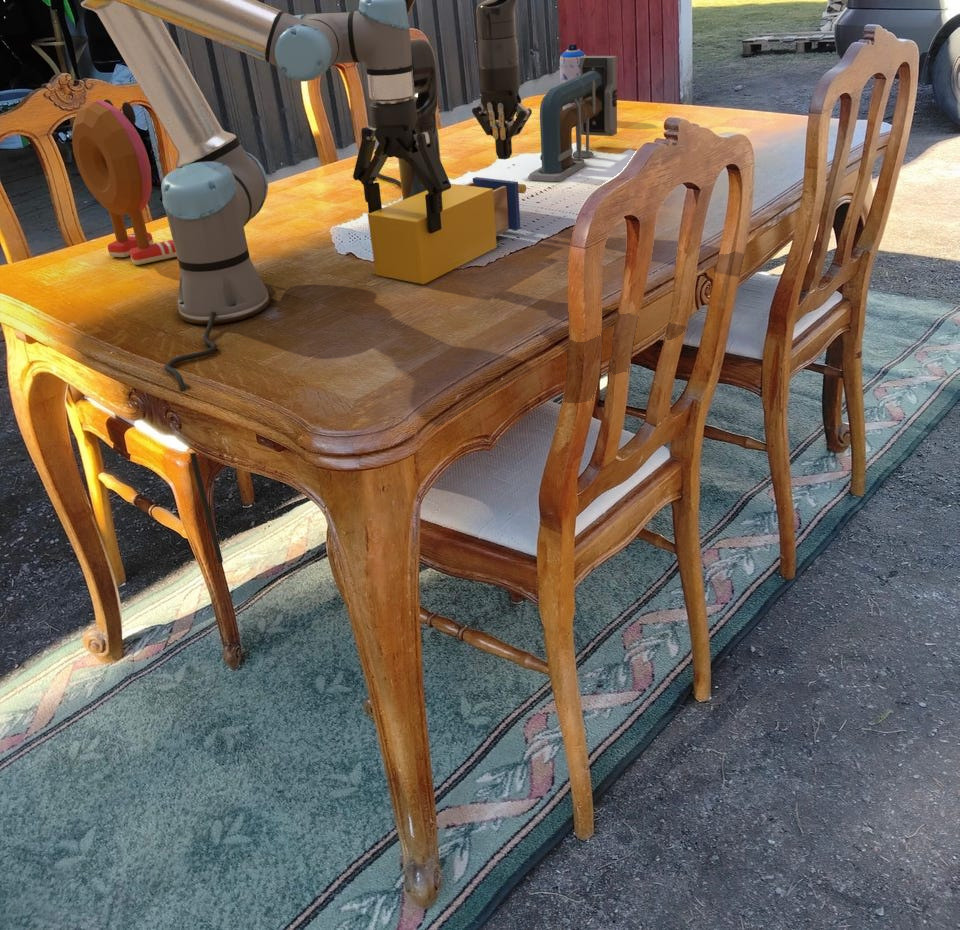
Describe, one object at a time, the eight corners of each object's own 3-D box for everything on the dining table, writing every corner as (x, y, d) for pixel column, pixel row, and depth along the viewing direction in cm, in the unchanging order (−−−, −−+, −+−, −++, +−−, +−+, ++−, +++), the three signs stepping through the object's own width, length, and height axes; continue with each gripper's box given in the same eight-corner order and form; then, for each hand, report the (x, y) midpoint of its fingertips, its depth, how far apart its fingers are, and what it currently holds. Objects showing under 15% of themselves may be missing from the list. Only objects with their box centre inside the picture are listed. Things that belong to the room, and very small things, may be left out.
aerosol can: (559, 122, 275) (557, 47, 265) (562, 117, 282) (559, 42, 272) (587, 121, 274) (585, 45, 263) (589, 115, 280) (587, 41, 270)
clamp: (559, 181, 220) (556, 82, 210) (525, 179, 224) (520, 82, 214) (617, 145, 246) (616, 55, 235) (585, 144, 250) (583, 55, 239)
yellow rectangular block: (450, 239, 190) (445, 182, 184) (496, 247, 184) (493, 188, 178) (375, 275, 175) (367, 214, 170) (423, 284, 169) (416, 221, 164)
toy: (194, 256, 192) (157, 98, 177) (148, 271, 186) (106, 109, 171) (139, 239, 206) (100, 90, 190) (95, 253, 199) (51, 100, 184)
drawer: (497, 214, 199) (494, 169, 195) (538, 219, 194) (536, 173, 189) (413, 253, 181) (408, 204, 177) (456, 260, 176) (451, 210, 171)
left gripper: (466, 99, 155) (474, 229, 166) (353, 90, 169) (367, 211, 180) (436, 108, 150) (447, 241, 161) (322, 98, 164) (339, 222, 175)
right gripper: (539, 60, 178) (543, 156, 187) (482, 58, 185) (488, 151, 194) (516, 67, 173) (521, 166, 182) (458, 65, 180) (465, 160, 189)
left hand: (405, 226), depth 170 cm, fingers open, 13 cm apart
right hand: (504, 158), depth 188 cm, fingers closed
